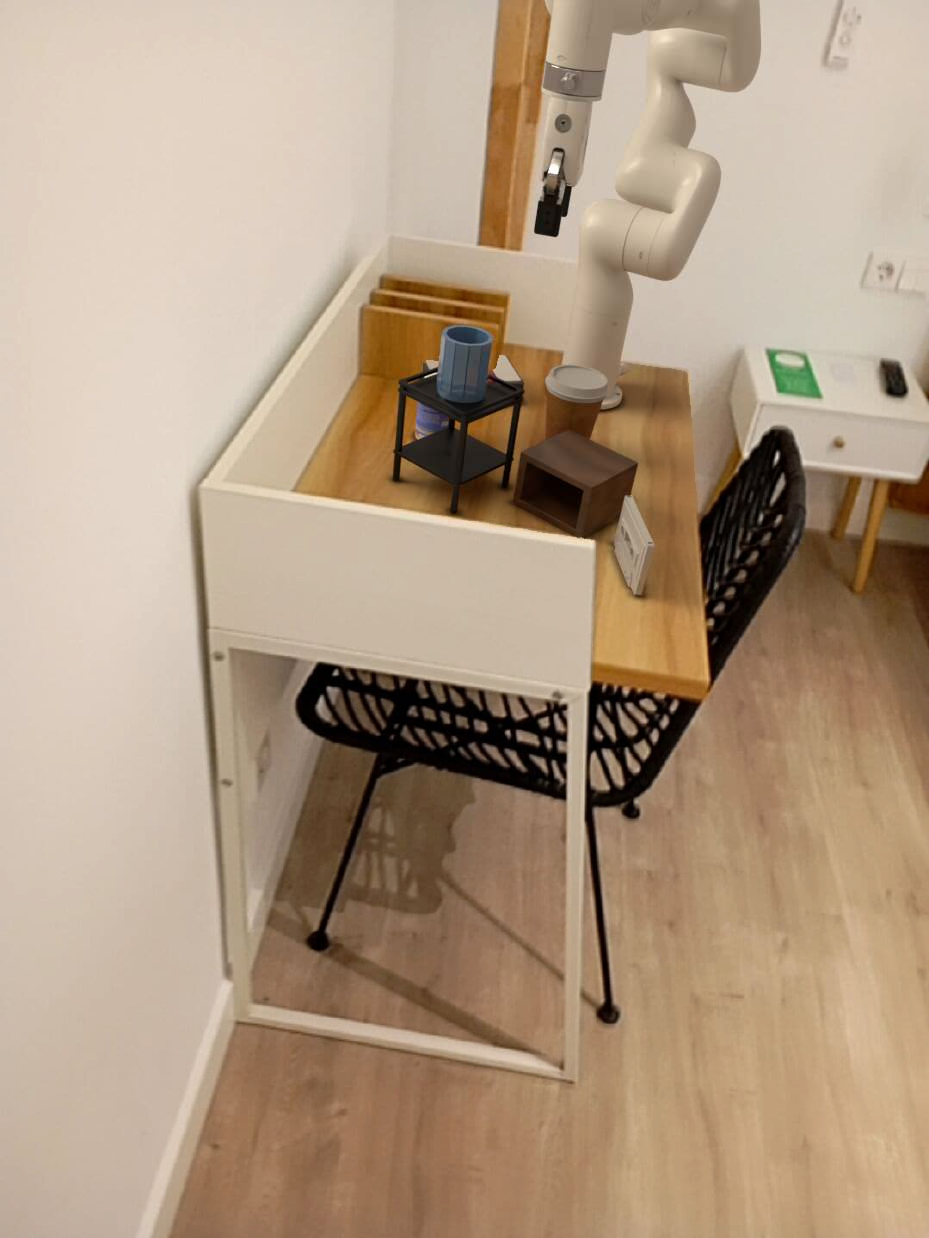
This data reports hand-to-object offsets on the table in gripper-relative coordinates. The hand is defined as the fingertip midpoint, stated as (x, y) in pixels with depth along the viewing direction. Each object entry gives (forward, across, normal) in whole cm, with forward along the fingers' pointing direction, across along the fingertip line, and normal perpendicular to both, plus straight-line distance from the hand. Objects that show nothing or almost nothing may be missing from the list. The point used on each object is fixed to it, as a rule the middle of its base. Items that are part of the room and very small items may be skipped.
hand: (550, 224), depth 135 cm
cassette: (+34, -27, -19) cm, 47 cm away
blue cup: (+19, -14, +7) cm, 25 cm away
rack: (+33, -14, +7) cm, 37 cm away
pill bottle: (+34, -2, +13) cm, 36 cm away
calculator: (+34, +18, +10) cm, 39 cm away
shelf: (+33, -14, -10) cm, 38 cm away
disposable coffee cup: (+34, +3, -7) cm, 34 cm away
